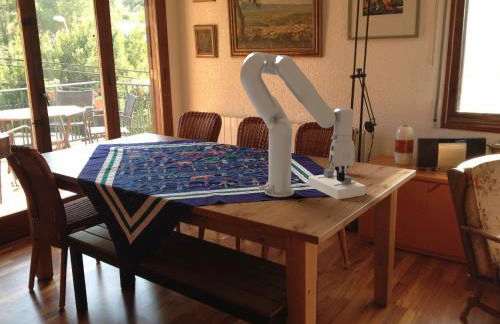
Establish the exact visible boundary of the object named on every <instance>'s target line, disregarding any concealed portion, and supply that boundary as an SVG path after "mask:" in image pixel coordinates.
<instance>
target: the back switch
mask: <svg viewBox="0 0 500 324" xmlns="http://www.w3.org/2000/svg"><path fill="white" fill-rule="evenodd" d="M334 170H335V169H332V168H326V169H323V175H324V176H326V177H333V175H334Z"/></svg>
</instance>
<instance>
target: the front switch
mask: <svg viewBox="0 0 500 324" xmlns="http://www.w3.org/2000/svg"><path fill="white" fill-rule="evenodd" d="M351 180H352V176H350V175H347V174H345V178H344V181H343V182H341V183H343V184H351Z"/></svg>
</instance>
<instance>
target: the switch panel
mask: <svg viewBox="0 0 500 324" xmlns="http://www.w3.org/2000/svg"><path fill="white" fill-rule="evenodd" d="M336 177H337V174H335V173H334V175H333V177H326V176H324V174H319V175H311V176H308V177H307V178H308V181H307V185H308V186H309V187H311V188H313V189H315V190H317V191H319V192H321V193H323V194H325V195H327V196H330V197H332V198H334V199H335V200H342V199H347V198H348V199H350V198H353V197H354V198H355V197H360V196H366V188H367V187H366V184H365V185H364V184H363V183H360V182H358V181H355V180H353V179H351V184H343V183H341V182H340V181H337V178H336Z"/></svg>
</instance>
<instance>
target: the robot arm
mask: <svg viewBox="0 0 500 324" xmlns="http://www.w3.org/2000/svg"><path fill="white" fill-rule="evenodd" d="M263 74H264V75H271V76H278V78H279V79H280V80H281V82H282V83H283V84H284V85H285V86H286V88H288V90H289V91H290V93H292V95H293V96H294V97H295V98H296V100H297V101H298V102H299V103H300V104H301V105H302V106H303V107H304V108H305V109H306V111H307V112H308V113H309V115H310V116H311V117H312V118H313V119H314V121H315V122H316V123H317V124H318V126H320V127H321V128H322V129H330V128H331V127H333V134H332V136H331V137H330V138H331V140H332V141H331V144H330V147H329V148H330V149H329V156H328V159H329V160H328V163H329V169H331V170H336V171H337V177H336V178H337V181H340V182H343V181H344V178H345V175H346V174H345V172H346V173H347V170H348V169H349V168H350V167H353V165H354V164H355V159H356V157H355V155H356V151H355V143H354V140H353V128H354V127H353V124H354V110H353V109H352V108H350V107H331V106H329V105H328V103H327V102H326V101H325V100H324V99H323V97H322V96H321V95H320V93H319V92H318V90H317V89H316V87H315V86H314V84H313V83H312V82H311V80H310V79H309V77H307V75H306V74H305V73H304V72H303V71H302V69H301V68H300V67H299V66H298V64H297V63H296V62H295V61H294V59H293V58H292V57H290V56H289V55H285V54H282V55H281V54H274V53H265V52H261V51H254V52H251V53H250V54H248V55H247V57H246V58H245V59H244V61H243V62H242V65H241V67H240V74H239V78H240V83H241V86H242V88H243V90H244V91H245V93H246V95H247V96H248V99H249V101H250V102H251V104H252V106H253V107H254V109H255V111H256V113H257V116H259V117H260V118H261V119H262V120H263V122H264V123H265V125H266V127H267V128H268V181H266V183H265V184H264V185H258V186H257V190H258V191H264V194H265V195H267V196H270V197H274V198H275V197H276V198H286V197H291V196H293V195H294V194H295V189H294V188H292V187H291V186H292V185H291V184H292V153H293V152H292V147H293V146H292V145H293V127H292V124H291V121H290V119H289V118H288V116H287V114H286V113H285V111H284V109H283V107H282V106H281V104H280V103H279V100H278V99H277V98H276V97H275V96H274V95H272V94H271V92H270V90H269V88H268V86H267V85H266V83H265V81H264V80H263V76H262V75H263Z"/></svg>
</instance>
